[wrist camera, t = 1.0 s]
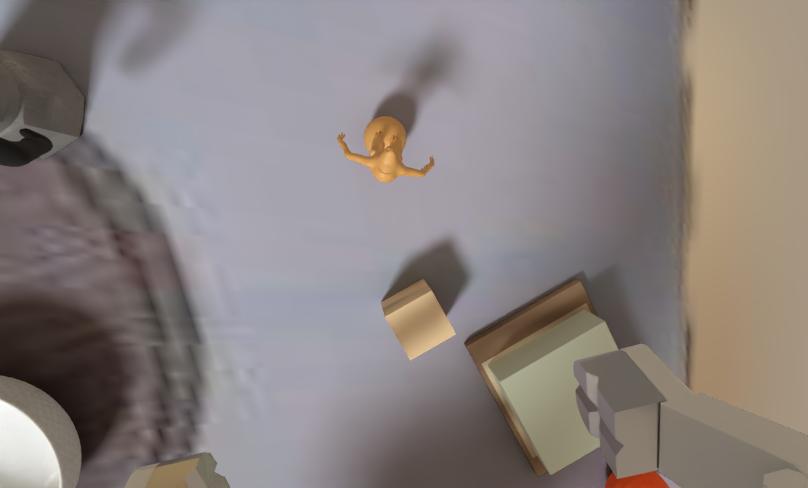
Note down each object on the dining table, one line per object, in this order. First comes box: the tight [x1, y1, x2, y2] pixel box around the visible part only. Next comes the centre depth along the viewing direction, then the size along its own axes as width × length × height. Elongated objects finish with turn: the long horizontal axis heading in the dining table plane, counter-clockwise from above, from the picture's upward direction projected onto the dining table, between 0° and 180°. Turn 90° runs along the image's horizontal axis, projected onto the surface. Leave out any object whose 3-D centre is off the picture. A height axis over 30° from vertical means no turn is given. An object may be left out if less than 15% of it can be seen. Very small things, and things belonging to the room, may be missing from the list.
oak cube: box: [381, 279, 456, 360], centre depth 46 cm, size 5×5×5 cm
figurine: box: [337, 116, 434, 182], centre depth 40 cm, size 8×6×12 cm
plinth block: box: [488, 309, 618, 475], centre depth 49 cm, size 12×12×4 cm
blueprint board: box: [464, 279, 598, 477], centre depth 51 cm, size 18×14×1 cm
